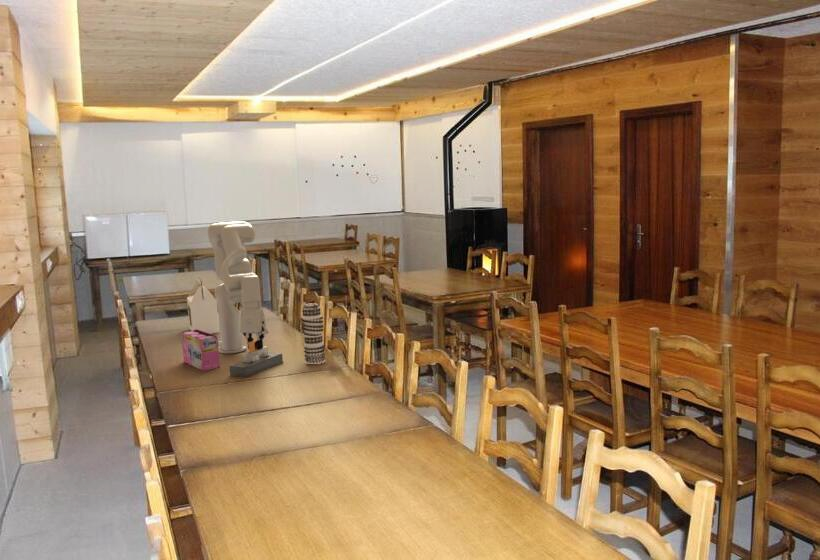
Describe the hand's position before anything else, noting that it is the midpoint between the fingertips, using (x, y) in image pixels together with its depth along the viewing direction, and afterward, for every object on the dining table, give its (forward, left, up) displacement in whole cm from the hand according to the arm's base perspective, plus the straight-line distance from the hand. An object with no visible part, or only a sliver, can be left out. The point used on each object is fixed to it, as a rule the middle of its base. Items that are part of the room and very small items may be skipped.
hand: (255, 348), depth 310 cm
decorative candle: (+18, +16, -9) cm, 26 cm away
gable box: (-83, +58, -9) cm, 102 cm away
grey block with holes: (0, 0, -9) cm, 9 cm away
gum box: (-30, -1, -9) cm, 31 cm away
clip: (0, 0, -9) cm, 9 cm away
